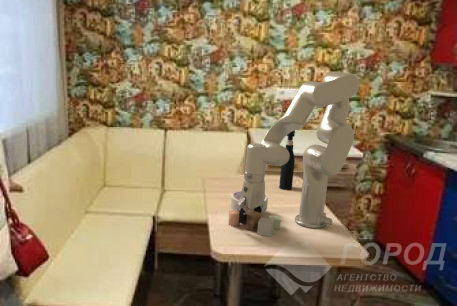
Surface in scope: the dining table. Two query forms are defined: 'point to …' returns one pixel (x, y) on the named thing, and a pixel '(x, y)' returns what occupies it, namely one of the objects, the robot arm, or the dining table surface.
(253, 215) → the walnut block
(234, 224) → the cylinder
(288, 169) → the wine bottle
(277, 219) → the sage cube
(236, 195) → the paper bowls
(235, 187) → the dining table surface
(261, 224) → the grey cube
